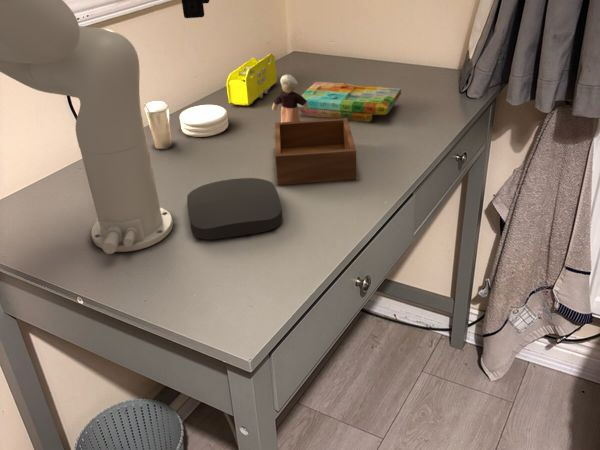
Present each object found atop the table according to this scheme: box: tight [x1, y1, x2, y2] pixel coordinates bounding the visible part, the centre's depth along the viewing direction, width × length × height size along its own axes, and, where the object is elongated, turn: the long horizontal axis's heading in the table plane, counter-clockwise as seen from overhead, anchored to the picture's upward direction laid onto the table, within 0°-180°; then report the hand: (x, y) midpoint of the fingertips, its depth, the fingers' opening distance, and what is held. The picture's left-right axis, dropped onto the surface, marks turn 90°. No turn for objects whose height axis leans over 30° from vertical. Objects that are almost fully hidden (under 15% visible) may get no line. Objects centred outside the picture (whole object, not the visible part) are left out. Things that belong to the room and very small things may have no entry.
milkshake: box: [143, 100, 172, 150], centre depth 126 cm, size 4×5×10 cm
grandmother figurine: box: [271, 74, 310, 123], centre depth 126 cm, size 8×4×13 cm, turn 86°
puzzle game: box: [297, 81, 402, 122], centre depth 138 cm, size 12×5×20 cm
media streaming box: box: [186, 177, 284, 240], centre depth 103 cm, size 15×15×3 cm
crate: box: [274, 118, 357, 186], centre depth 116 cm, size 15×14×6 cm
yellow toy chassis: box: [225, 53, 277, 106], centre depth 148 cm, size 16×6×8 cm, turn 158°
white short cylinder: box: [179, 104, 229, 138], centre depth 134 cm, size 10×10×4 cm
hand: (197, 10), depth 105 cm, fingers open, 9 cm apart
